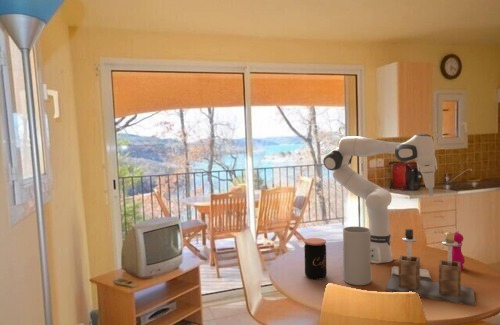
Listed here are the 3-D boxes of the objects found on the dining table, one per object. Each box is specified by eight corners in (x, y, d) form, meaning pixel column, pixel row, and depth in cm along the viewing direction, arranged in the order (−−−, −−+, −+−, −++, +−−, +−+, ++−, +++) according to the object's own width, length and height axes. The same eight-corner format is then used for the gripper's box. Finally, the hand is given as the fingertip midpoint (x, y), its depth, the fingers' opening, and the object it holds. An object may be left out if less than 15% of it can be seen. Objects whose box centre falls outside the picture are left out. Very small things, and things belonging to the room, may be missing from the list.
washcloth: (391, 270, 190) (391, 264, 190) (429, 274, 184) (429, 267, 183) (391, 278, 179) (391, 272, 179) (432, 282, 173) (432, 276, 172)
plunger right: (441, 269, 156) (441, 234, 156) (441, 265, 162) (442, 230, 161) (457, 271, 153) (457, 235, 153) (457, 267, 159) (457, 232, 158)
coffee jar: (313, 281, 177) (313, 244, 176) (300, 274, 186) (300, 239, 185) (331, 277, 182) (330, 241, 181) (317, 270, 191) (317, 236, 190)
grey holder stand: (385, 291, 163) (385, 261, 162) (390, 279, 177) (390, 251, 176) (475, 305, 147) (475, 272, 146) (473, 291, 161) (473, 260, 160)
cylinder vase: (367, 287, 168) (366, 234, 166) (340, 283, 174) (339, 231, 173) (373, 278, 178) (373, 228, 177) (348, 274, 185) (347, 225, 183)
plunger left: (401, 264, 164) (401, 230, 163) (402, 260, 169) (402, 227, 168) (416, 266, 161) (415, 231, 160) (417, 262, 166) (417, 228, 166)
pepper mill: (466, 271, 185) (467, 231, 184) (451, 270, 186) (451, 231, 185) (461, 266, 192) (461, 228, 191) (446, 265, 193) (446, 228, 192)
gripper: (420, 164, 191) (424, 190, 191) (420, 169, 172) (424, 198, 173) (433, 163, 188) (437, 189, 188) (434, 168, 169) (439, 197, 170)
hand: (431, 194), depth 180 cm, fingers open, 8 cm apart
